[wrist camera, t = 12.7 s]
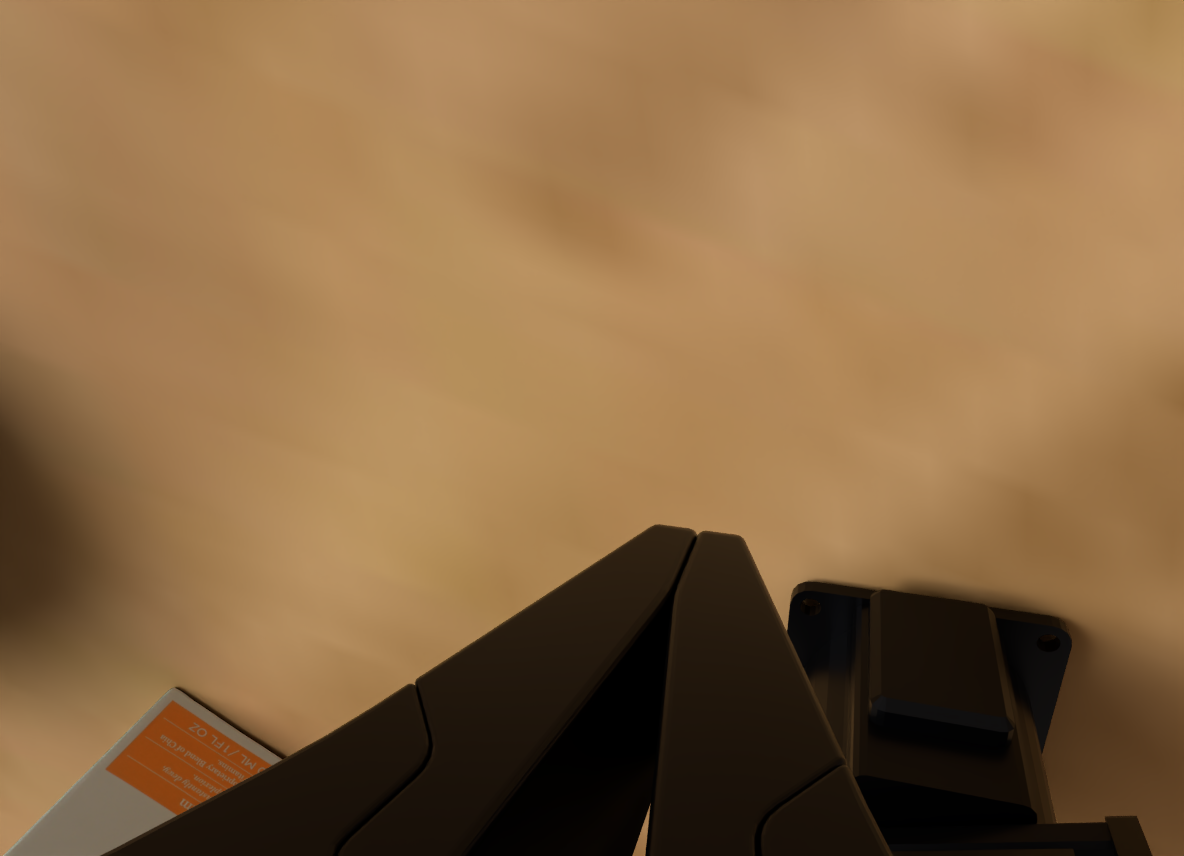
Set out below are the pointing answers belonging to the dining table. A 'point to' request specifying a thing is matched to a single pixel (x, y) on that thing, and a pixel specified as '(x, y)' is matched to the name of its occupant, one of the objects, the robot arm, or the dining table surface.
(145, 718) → the skincare box
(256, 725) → the dining table surface
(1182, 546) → the dining table surface
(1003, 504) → the dining table surface
